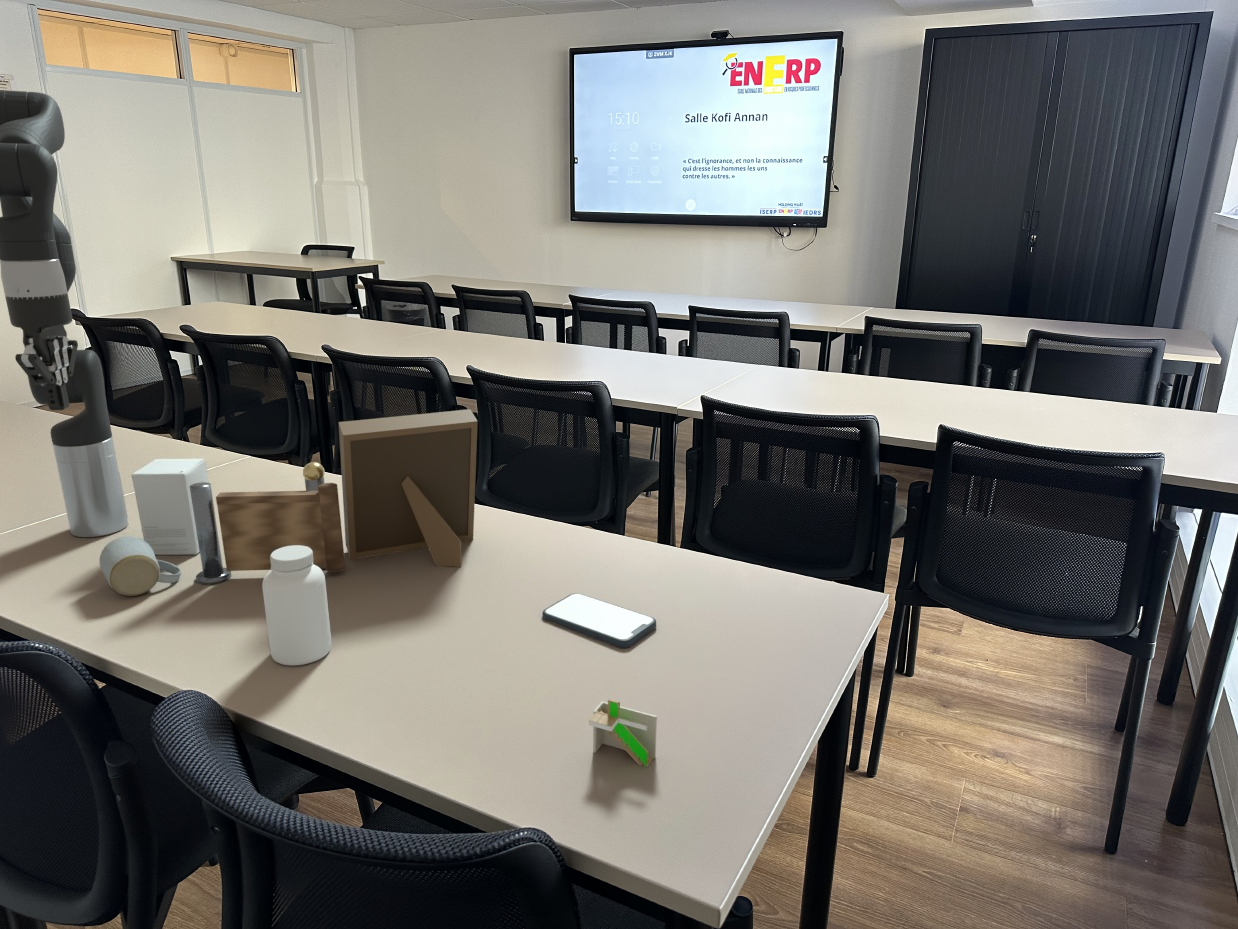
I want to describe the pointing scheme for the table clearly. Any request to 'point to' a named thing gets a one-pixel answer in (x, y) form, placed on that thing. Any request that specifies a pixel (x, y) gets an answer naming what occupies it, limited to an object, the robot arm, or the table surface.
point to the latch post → (313, 477)
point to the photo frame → (409, 484)
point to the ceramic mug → (134, 566)
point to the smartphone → (600, 620)
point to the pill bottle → (296, 607)
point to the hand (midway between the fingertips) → (59, 408)
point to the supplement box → (169, 504)
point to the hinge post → (207, 535)
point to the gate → (281, 526)
